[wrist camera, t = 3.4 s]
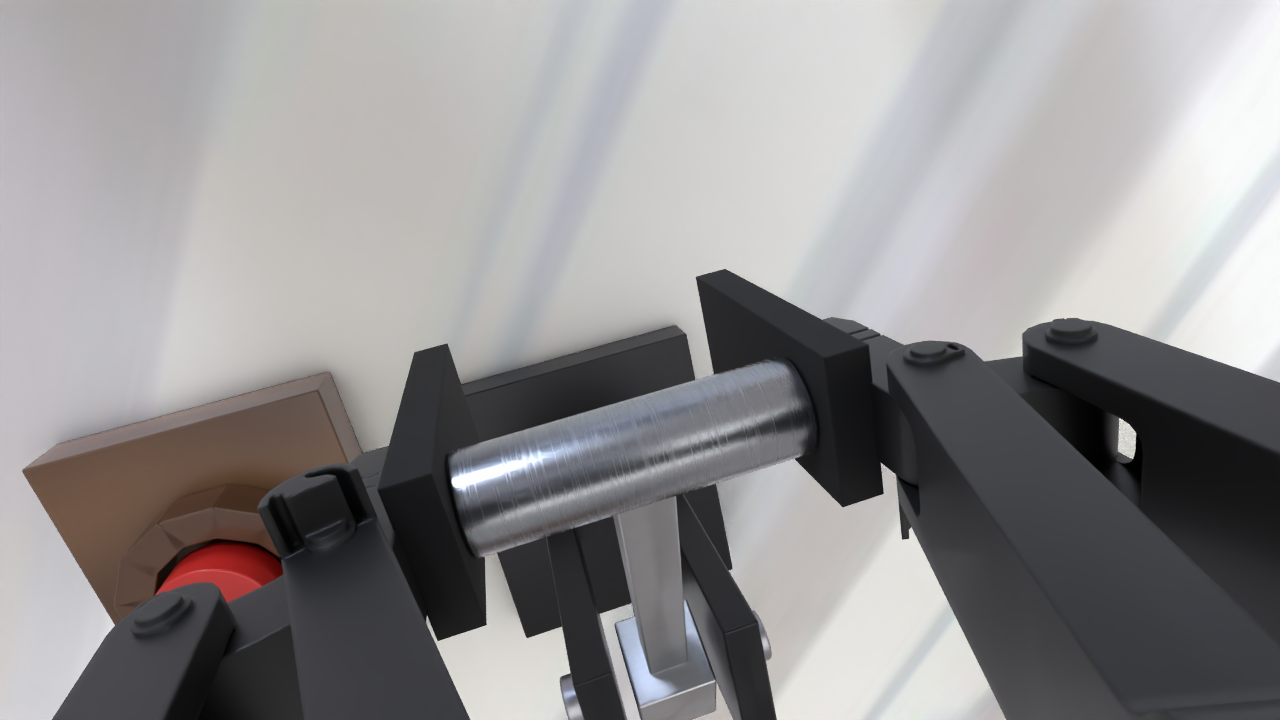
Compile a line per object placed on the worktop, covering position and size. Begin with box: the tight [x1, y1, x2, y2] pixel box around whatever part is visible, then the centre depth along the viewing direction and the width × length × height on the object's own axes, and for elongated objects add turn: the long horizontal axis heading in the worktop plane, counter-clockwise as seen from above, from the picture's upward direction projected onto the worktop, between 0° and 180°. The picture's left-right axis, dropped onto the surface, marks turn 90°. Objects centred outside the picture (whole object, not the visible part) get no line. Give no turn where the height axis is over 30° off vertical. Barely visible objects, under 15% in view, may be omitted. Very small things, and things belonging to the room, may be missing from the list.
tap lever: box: [446, 356, 819, 720], centre depth 16 cm, size 13×6×2 cm, turn 13°
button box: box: [22, 372, 362, 626], centre depth 26 cm, size 12×10×4 cm
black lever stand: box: [461, 325, 777, 720], centre depth 25 cm, size 12×10×14 cm
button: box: [156, 542, 283, 603], centre depth 24 cm, size 4×4×2 cm
